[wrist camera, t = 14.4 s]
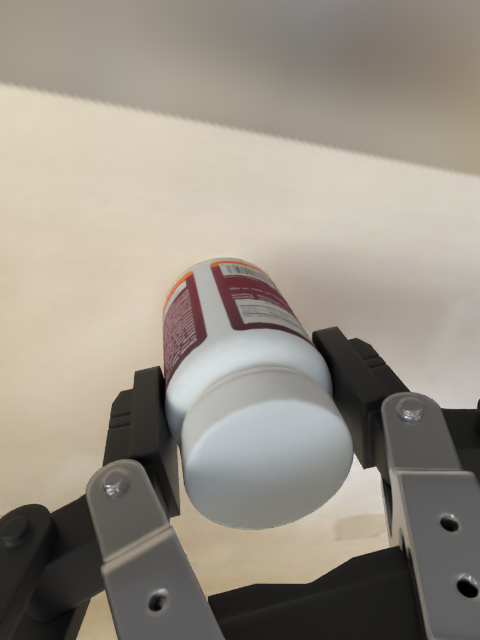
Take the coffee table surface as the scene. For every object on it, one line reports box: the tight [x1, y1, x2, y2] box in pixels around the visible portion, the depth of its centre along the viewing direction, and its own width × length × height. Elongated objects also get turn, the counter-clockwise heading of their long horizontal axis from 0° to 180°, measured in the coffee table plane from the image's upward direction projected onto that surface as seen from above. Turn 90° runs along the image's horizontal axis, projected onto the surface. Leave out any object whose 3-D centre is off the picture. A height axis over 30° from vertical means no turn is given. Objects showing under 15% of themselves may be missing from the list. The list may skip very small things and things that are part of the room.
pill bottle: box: [163, 258, 354, 530], centre depth 13 cm, size 5×5×8 cm
